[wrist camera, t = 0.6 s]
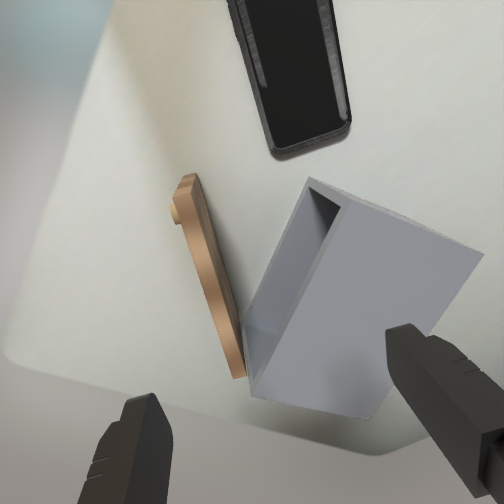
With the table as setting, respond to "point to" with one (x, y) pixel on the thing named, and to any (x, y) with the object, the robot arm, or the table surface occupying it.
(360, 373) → the storage box
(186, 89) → the table surface
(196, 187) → the door
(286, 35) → the phone
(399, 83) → the table surface
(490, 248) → the table surface
